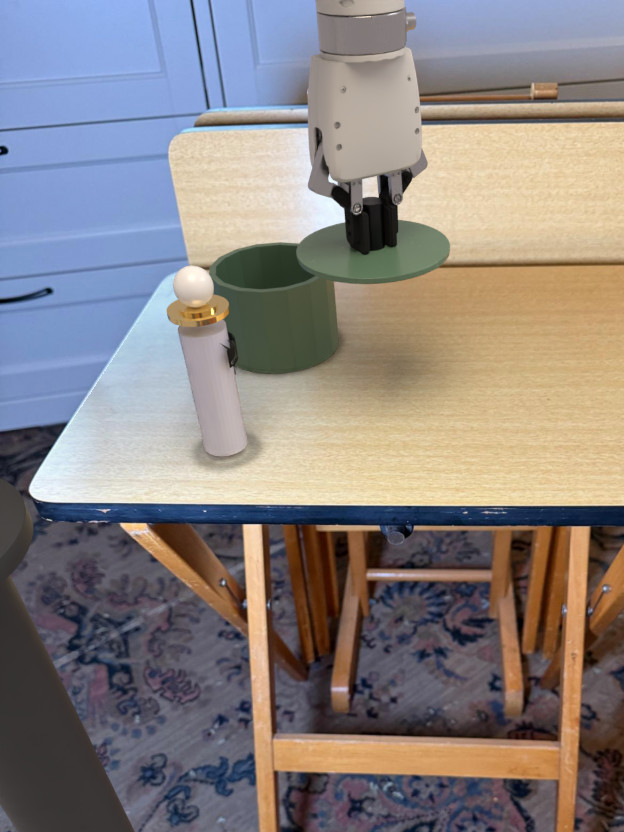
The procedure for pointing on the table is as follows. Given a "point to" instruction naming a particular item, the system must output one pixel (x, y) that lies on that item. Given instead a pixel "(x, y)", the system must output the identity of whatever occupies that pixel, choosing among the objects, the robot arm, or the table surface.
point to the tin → (276, 308)
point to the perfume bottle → (209, 360)
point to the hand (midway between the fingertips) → (373, 244)
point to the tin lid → (373, 251)
